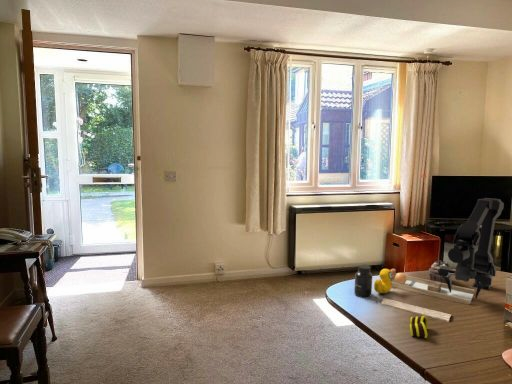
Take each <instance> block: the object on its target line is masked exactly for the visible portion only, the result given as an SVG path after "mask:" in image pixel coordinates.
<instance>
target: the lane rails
mask: <svg viewBox="0 0 512 384" xmlns="http://www.w3.org/2000/svg"><path fill="white" fill-rule="evenodd" d="M390 270H394V275H393V276H392V278H391V280H390V281H392V280H393V279H394V278H395V275H396V274H397V273H398V272H396V271H397V270H396V268H391V269H390ZM406 277H407V280H409V281H414V282H419V283H423V284H428V285H429V283H430V282H431V281H430V279H425V278H420V277H415V276H412V275H411V276H410V275H406ZM441 287H442V288H447V289H448V285H447V284H445V283H441ZM392 288H393V289H399V290H403V291H408V292H412V293H417V294H422V295H427V296H430V297H434V298H439V299H444V300H448V301H452V302H456V303H460V304H465V305H470V304H471V302H470V299H465V298H461V297H456V296H452V295H447V294H443V293H438V292H434V291H429V290H425V289H421V288H416V287H412V286H407V285H403V284H398V283H394V282H392ZM452 290H456V291H461V292H465V293H470V294H474V295H475V289H473V288H468V287H463V286H458V285H454V284H452Z"/></svg>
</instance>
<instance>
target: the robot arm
mask: <svg viewBox="0 0 512 384" xmlns="http://www.w3.org/2000/svg"><path fill="white" fill-rule="evenodd" d="M504 207H505V204H504V202H503V201H502V199H499V198H491V197H490V198H489V197H488V198H487V197H484V198H479V199H477V200H476V204H475V207H474V208H473V211H471V212H472V213H470V216H469V217H468V220H467V221H466V222H464V223H461V225H460V226H459V227H458V228H457V230H456V231H455V234H454V237H453V239H452V243H451V244H452V245H453V248H451V249H450V250H448V252H447V257H448V259H449V260H450V262H452V263H454V264H457V265H456V267H455V270H453V269H452V267H451V266H450V267H446V266H441V267H440V268H439V270H438V275H440V276H441V277H442V278H444V279H445V280H446V282H447V285H448V289H449V292H450V293H451V290H452V285H453V283H452V277H453V276H454V278H455V280H456V281H464V282H466V283H467V282H469V281H470V280H474V281H473V283H472V287H473V288H475V289H476V292H475V294H474V296H475V299H477V298H478V296H479V294H480V292H481V290H482V289H483V290H486V291H490V289H491V287H492V282H493V277H496V275H497V269H496V266H495V264H494V258H493V255H492V252H491V249H492V243H493V236H494V230H495V224H496V220H497V218H499V216H501V214H502V211H503V210H504ZM476 246H478V247H477V250H476ZM451 269H452V270H451Z"/></svg>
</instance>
